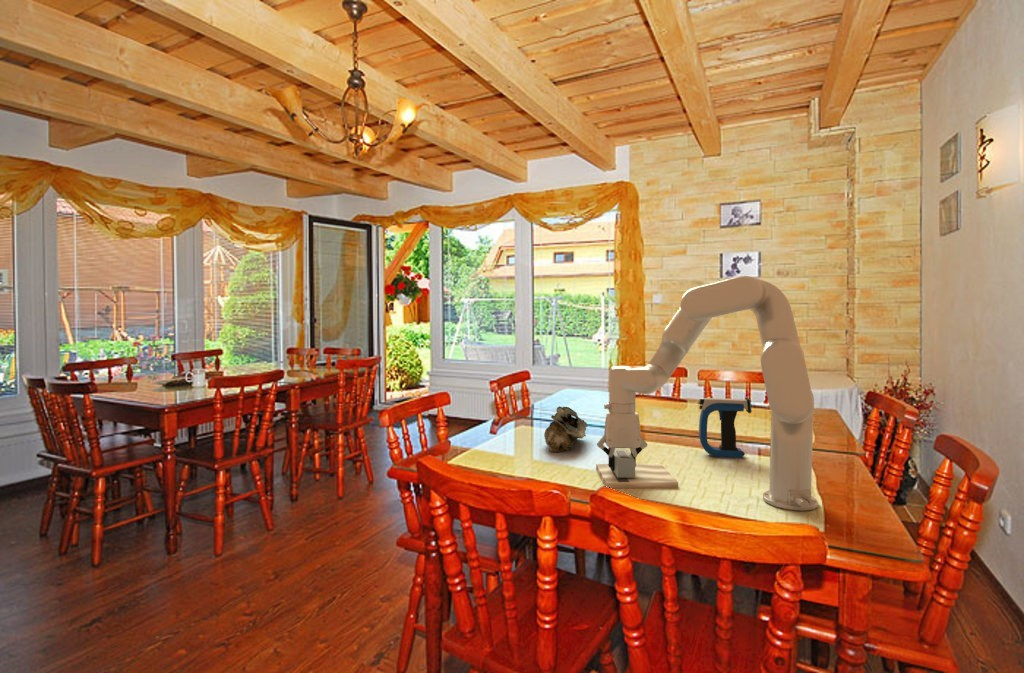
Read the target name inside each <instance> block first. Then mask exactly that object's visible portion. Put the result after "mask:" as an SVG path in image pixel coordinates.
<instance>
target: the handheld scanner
mask: <svg viewBox="0 0 1024 673" xmlns="http://www.w3.org/2000/svg"><path fill="white" fill-rule="evenodd" d="M751 402H752V401H751V399H750V398H749V397H745V398H742V399H741V398H717V397H714V398H713V397H704V398H700V399H699V410H701V411H700V415H699V421H698V423H699V424H698V436H699V437H698V438H699V441H700V442H699V443H700V444H701V446H702V448H703V450H704V451H705V452H706V453H707V454H708V455H710V456H711V457H715V458H725V459H726V458H727V459H728V458H731V459H743V458H744V457H745V455H746V454H745V451H744V450H742V449H741V448H739V447H737V431H736V427H735V420H736V418H737V414H738V412H744V411H746V412H747V413H748V414H752V411H753V410H752V403H751ZM713 412H718V416H719V421H720V445H719V447H718V446H713V445H710V443H709V442H708V421H709V420H708V419H709V416H710V415H711V414H712V413H713Z"/></svg>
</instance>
